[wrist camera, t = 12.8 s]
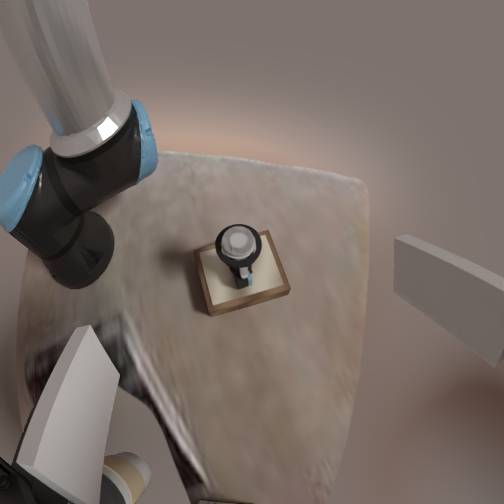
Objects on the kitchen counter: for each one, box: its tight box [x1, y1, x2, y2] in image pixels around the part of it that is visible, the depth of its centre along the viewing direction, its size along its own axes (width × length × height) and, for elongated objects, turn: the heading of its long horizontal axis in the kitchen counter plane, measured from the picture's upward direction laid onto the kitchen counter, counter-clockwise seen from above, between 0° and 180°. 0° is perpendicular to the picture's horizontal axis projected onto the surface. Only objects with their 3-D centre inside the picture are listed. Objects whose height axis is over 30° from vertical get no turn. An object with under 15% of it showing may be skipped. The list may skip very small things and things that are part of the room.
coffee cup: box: [68, 452, 152, 504], centre depth 21 cm, size 9×9×15 cm
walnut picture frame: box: [194, 230, 291, 317], centre depth 41 cm, size 12×10×3 cm
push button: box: [215, 224, 262, 290], centre depth 35 cm, size 7×5×10 cm
